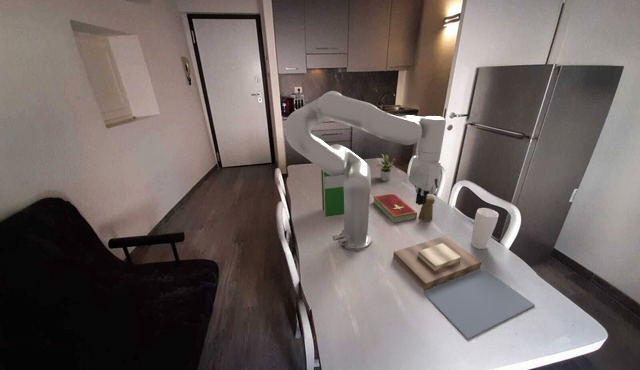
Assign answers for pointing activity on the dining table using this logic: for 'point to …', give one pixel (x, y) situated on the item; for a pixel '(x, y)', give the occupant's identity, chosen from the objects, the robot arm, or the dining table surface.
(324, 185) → the hardback book
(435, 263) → the birch tile
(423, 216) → the cork
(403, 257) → the walnut board
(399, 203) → the hardcover book
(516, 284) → the dining table surface
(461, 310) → the rubber mat
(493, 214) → the drinking glass
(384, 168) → the house plant
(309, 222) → the dining table surface
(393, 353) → the dining table surface
